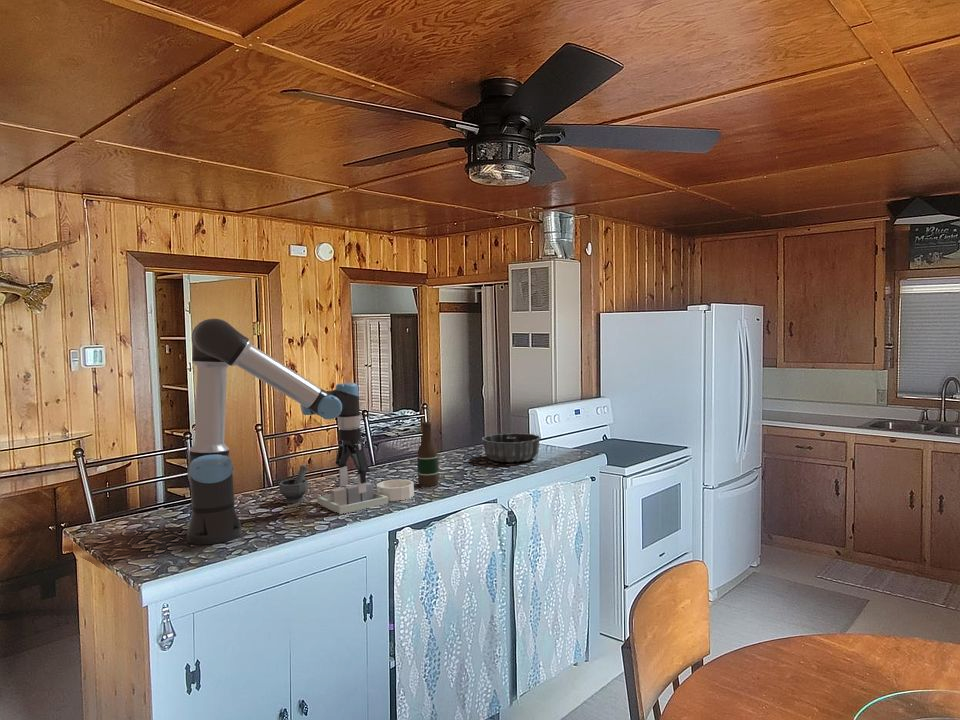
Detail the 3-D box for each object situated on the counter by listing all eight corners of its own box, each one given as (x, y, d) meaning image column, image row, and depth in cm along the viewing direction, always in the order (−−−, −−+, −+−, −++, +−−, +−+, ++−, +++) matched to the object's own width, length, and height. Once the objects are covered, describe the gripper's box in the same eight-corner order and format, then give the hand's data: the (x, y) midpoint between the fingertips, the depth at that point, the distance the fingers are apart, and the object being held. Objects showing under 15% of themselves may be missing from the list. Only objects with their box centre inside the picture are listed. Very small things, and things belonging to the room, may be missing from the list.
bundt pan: (486, 453, 307) (485, 432, 306) (542, 453, 303) (541, 432, 303) (478, 465, 281) (477, 442, 280) (539, 465, 277) (539, 442, 277)
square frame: (340, 514, 213) (339, 507, 213) (317, 503, 227) (316, 496, 227) (388, 503, 224) (388, 496, 224) (363, 494, 238) (363, 487, 238)
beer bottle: (442, 484, 249) (440, 421, 248) (427, 488, 244) (425, 424, 242) (429, 481, 255) (427, 420, 253) (414, 485, 249) (411, 422, 248)
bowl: (389, 503, 224) (388, 490, 224) (370, 496, 235) (370, 483, 234) (420, 496, 232) (420, 483, 232) (401, 489, 243) (401, 477, 242)
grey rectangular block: (348, 506, 223) (348, 488, 222) (344, 504, 225) (343, 486, 225) (360, 503, 225) (360, 486, 225) (356, 501, 228) (355, 484, 228)
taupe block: (334, 509, 219) (334, 491, 219) (330, 507, 222) (329, 489, 222) (347, 506, 222) (346, 489, 222) (342, 504, 225) (341, 487, 224)
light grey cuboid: (362, 503, 226) (361, 486, 225) (358, 501, 228) (357, 484, 228) (374, 500, 228) (373, 483, 228) (369, 498, 231) (368, 482, 231)
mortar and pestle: (292, 506, 224) (290, 471, 224) (274, 502, 229) (272, 469, 229) (317, 498, 234) (315, 465, 233) (299, 495, 239) (297, 463, 238)
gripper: (377, 430, 216) (380, 493, 218) (343, 423, 236) (346, 480, 237) (356, 433, 212) (360, 497, 213) (323, 425, 231) (327, 484, 233)
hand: (353, 488), depth 225 cm, fingers open, 13 cm apart
